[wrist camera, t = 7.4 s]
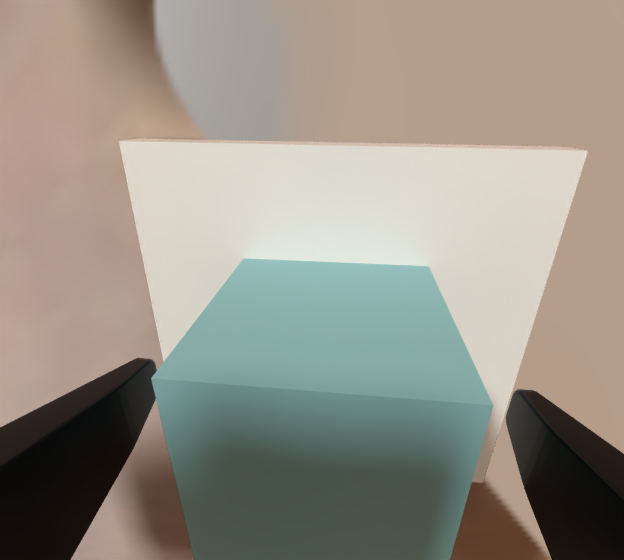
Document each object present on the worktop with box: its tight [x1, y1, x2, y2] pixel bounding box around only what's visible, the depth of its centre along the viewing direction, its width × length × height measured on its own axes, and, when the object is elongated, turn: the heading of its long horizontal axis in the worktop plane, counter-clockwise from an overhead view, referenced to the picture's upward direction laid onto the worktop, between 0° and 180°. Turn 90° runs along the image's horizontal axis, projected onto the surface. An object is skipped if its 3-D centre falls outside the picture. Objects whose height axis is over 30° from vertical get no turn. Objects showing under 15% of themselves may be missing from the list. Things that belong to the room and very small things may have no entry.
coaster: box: [119, 138, 588, 483], centre depth 11 cm, size 11×11×1 cm
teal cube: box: [151, 258, 493, 560], centre depth 9 cm, size 5×5×5 cm
